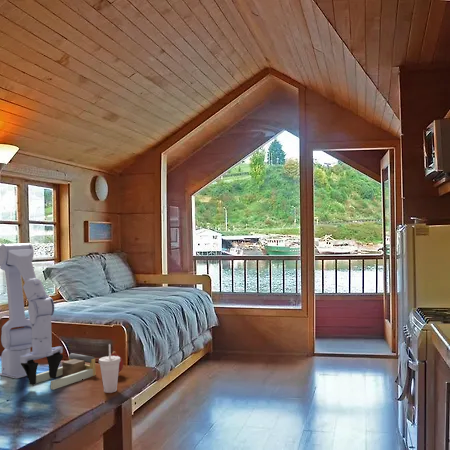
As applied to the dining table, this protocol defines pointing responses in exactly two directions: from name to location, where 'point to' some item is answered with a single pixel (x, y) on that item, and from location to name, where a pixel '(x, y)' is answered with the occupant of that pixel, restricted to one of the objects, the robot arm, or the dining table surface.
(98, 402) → the dining table surface
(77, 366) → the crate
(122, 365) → the onion
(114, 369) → the smoothie
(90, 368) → the cream u-shaped frame
